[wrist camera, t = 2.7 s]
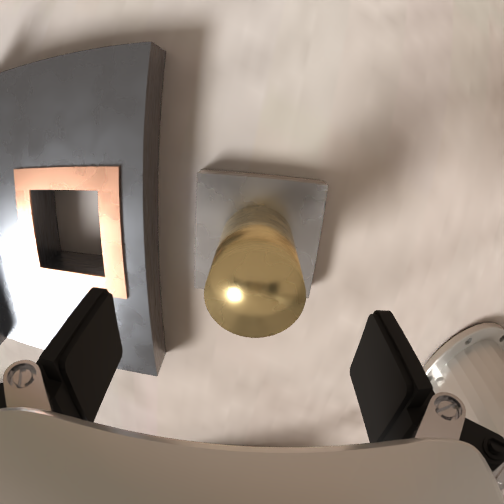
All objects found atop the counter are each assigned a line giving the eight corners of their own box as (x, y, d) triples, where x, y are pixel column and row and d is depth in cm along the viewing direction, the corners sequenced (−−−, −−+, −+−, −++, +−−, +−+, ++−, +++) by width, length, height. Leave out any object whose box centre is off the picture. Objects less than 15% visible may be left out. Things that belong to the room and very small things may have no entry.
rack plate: (166, 51, 17) (131, 29, 11) (165, 352, 26) (147, 402, 21) (-15, 86, 17) (-62, 89, 11) (15, 319, 26) (-15, 352, 21)
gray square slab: (323, 180, 20) (328, 185, 19) (306, 287, 23) (308, 298, 22) (201, 169, 20) (197, 172, 19) (198, 278, 23) (194, 288, 22)
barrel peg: (296, 209, 19) (314, 256, 13) (287, 274, 21) (297, 340, 15) (224, 202, 19) (205, 245, 13) (220, 268, 21) (203, 332, 15)
